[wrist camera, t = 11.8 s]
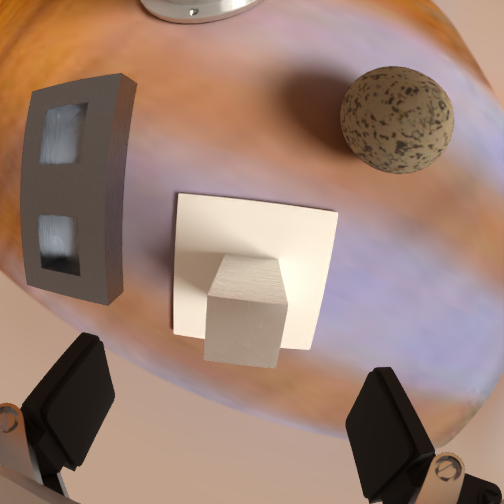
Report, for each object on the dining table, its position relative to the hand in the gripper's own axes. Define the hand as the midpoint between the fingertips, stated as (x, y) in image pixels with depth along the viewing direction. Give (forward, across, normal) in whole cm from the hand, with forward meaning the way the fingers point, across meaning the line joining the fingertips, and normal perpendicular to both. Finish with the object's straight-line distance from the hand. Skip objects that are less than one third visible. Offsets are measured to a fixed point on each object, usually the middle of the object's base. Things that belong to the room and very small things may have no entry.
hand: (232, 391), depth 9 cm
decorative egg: (+15, -8, -11) cm, 20 cm away
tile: (+14, 0, +2) cm, 14 cm away
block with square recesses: (+14, +16, -4) cm, 22 cm away
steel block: (+13, 0, +2) cm, 14 cm away
